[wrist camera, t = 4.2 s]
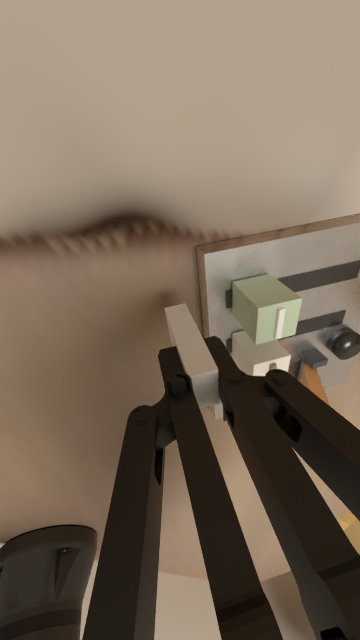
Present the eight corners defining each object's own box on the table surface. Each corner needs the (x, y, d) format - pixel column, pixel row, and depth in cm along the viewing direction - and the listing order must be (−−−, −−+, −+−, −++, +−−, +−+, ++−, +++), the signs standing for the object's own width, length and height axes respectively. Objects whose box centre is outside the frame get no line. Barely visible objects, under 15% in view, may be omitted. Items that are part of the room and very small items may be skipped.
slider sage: (232, 314, 20) (257, 347, 16) (232, 281, 18) (260, 310, 15) (265, 306, 20) (297, 337, 17) (269, 273, 18) (305, 300, 15)
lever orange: (295, 377, 27) (312, 445, 21) (299, 359, 25) (319, 426, 19) (309, 378, 27) (330, 447, 21) (314, 359, 25) (339, 428, 19)
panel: (209, 405, 30) (220, 434, 26) (196, 246, 18) (213, 263, 15) (332, 371, 32) (356, 393, 28) (390, 207, 20) (440, 215, 17)
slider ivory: (232, 358, 23) (253, 394, 19) (232, 333, 21) (255, 368, 17) (261, 350, 23) (287, 384, 19) (263, 325, 21) (293, 357, 18)
